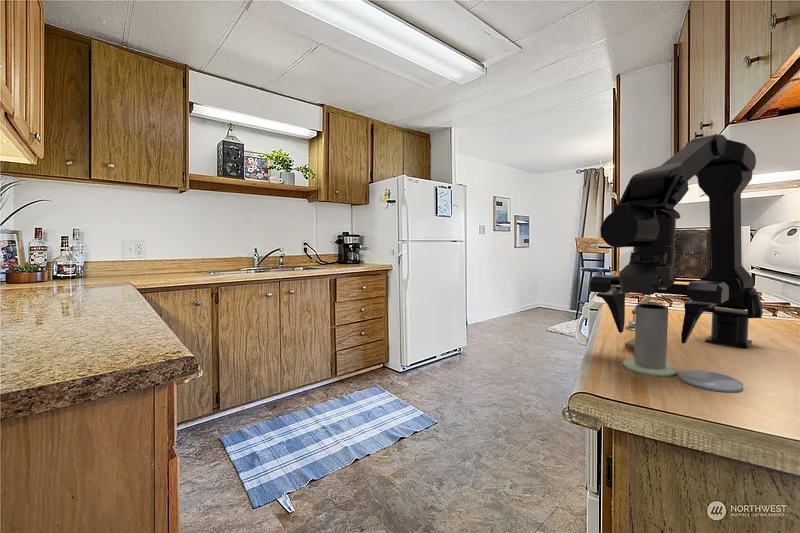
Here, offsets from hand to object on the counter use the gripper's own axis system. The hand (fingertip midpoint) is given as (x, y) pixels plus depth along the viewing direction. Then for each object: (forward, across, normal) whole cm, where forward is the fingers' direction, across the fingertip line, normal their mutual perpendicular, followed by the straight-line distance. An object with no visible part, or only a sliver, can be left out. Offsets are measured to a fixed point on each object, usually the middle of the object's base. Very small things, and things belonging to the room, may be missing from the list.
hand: (650, 337), depth 61 cm
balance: (+6, -6, +13) cm, 15 cm away
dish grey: (+6, +8, 0) cm, 10 cm away
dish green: (+6, 0, 0) cm, 6 cm away
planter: (+5, 0, 0) cm, 5 cm away
